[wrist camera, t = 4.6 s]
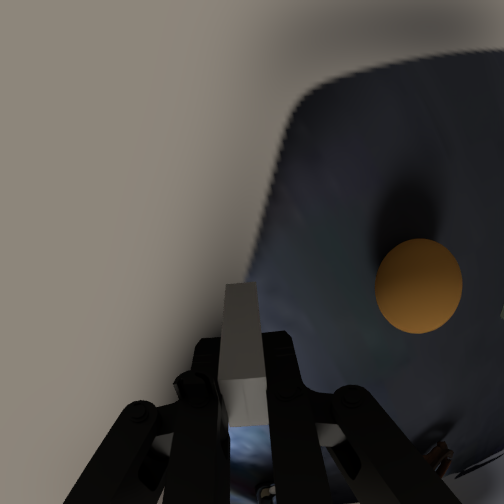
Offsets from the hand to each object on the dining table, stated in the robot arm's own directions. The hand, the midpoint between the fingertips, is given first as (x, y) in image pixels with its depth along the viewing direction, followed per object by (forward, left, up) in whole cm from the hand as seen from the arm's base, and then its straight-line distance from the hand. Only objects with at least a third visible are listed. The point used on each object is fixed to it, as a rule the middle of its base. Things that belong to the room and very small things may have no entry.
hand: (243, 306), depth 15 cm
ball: (-10, 0, 0) cm, 10 cm away
